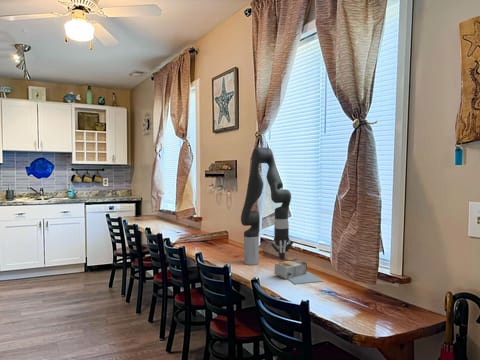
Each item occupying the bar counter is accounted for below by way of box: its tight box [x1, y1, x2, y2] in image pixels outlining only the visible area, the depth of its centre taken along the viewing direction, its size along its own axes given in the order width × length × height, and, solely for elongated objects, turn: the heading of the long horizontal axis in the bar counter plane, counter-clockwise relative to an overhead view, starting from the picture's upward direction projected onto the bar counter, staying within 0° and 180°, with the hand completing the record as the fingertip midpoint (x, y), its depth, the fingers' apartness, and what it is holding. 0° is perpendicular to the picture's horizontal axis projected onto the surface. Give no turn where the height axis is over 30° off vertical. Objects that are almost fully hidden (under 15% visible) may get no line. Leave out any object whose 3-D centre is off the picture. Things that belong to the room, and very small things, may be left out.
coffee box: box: [274, 258, 308, 280], centre depth 202 cm, size 9×6×16 cm
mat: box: [286, 271, 324, 285], centre depth 197 cm, size 18×16×1 cm
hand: (281, 259), depth 193 cm, fingers closed
